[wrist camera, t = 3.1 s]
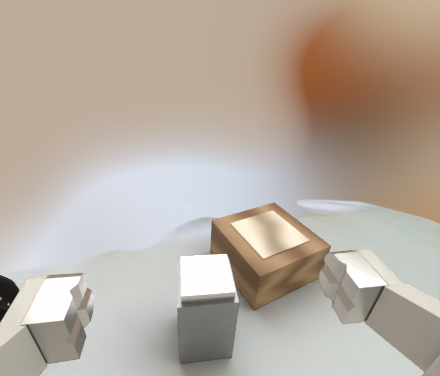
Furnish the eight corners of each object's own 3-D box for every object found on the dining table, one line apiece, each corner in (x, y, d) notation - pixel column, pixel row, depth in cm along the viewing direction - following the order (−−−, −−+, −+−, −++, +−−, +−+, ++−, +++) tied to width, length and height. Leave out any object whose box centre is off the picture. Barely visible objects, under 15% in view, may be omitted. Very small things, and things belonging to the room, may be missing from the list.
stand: (253, 310, 33) (260, 275, 30) (210, 250, 42) (211, 219, 39) (320, 277, 38) (331, 244, 35) (269, 230, 47) (274, 201, 44)
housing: (231, 357, 28) (240, 294, 23) (179, 363, 27) (177, 300, 22) (223, 311, 32) (229, 251, 28) (179, 315, 32) (177, 254, 27)
